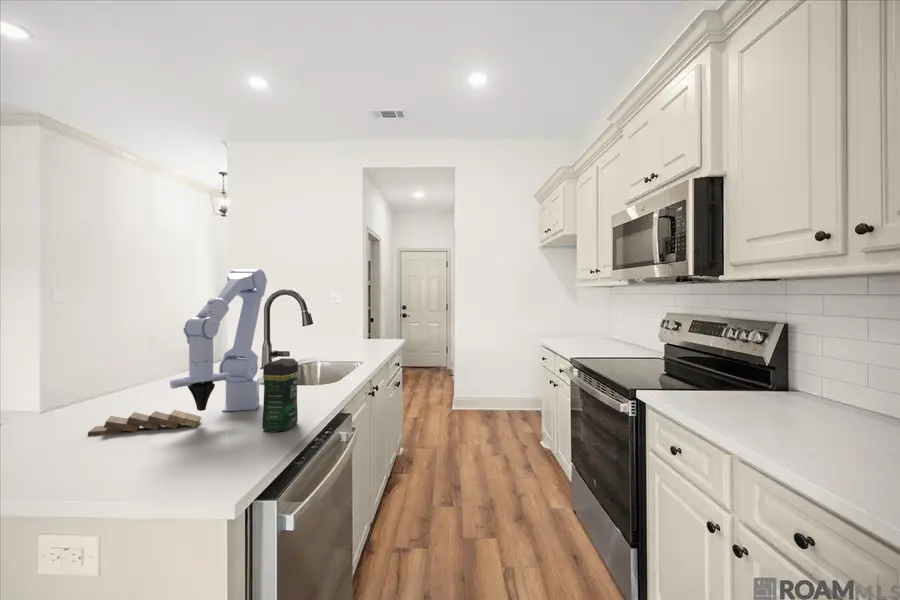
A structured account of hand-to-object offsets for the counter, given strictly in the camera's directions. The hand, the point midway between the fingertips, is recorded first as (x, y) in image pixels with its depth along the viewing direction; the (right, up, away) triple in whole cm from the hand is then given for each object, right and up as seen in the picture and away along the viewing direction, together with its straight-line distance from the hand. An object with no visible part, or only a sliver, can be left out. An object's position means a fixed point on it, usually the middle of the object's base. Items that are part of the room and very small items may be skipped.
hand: (201, 409), depth 117 cm
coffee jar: (+22, -5, -1) cm, 23 cm away
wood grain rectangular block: (-17, -4, -6) cm, 18 cm away
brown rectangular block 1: (-14, -3, -5) cm, 15 cm away
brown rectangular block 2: (-10, -3, -3) cm, 10 cm away
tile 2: (-5, -3, -2) cm, 6 cm away
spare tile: (-1, -3, 0) cm, 3 cm away
